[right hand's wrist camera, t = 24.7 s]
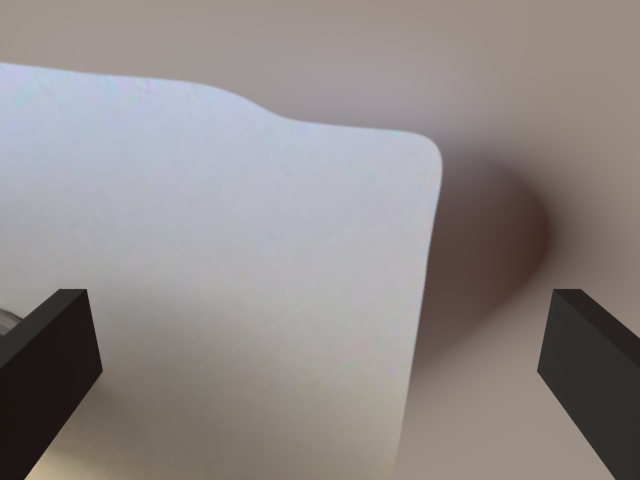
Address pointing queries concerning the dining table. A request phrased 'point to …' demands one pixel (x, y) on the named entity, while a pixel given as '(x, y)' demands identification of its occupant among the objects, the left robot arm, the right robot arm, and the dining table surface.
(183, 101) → the dining table surface
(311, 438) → the dining table surface
